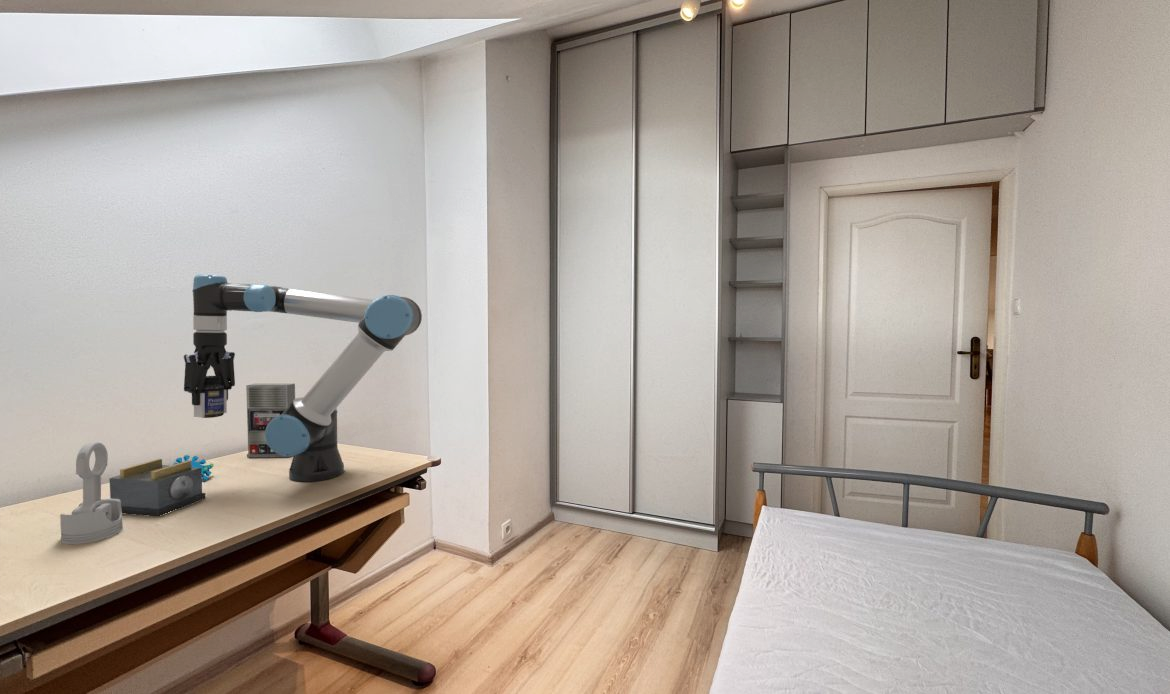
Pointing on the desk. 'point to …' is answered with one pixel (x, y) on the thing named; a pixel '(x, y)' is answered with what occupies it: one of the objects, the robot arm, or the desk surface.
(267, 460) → the desk surface
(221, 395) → the pill bottle
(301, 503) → the desk surface
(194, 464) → the blue spiky rounded piece
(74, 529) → the engine component
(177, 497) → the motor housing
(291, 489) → the desk surface
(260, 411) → the grey cassette player
